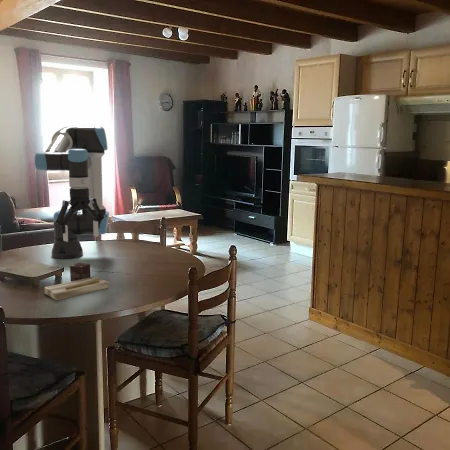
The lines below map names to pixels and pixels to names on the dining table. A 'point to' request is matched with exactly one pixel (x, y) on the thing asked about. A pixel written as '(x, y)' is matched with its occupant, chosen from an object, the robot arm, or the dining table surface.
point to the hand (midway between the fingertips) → (81, 238)
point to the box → (79, 271)
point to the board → (75, 288)
